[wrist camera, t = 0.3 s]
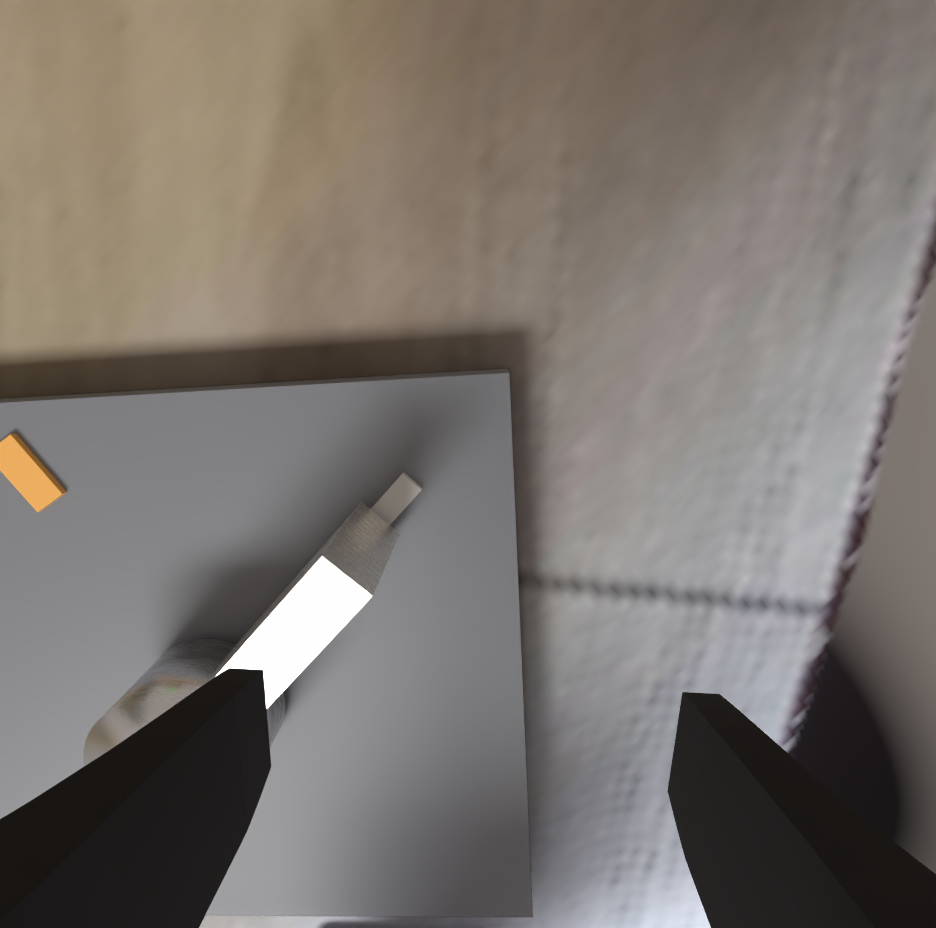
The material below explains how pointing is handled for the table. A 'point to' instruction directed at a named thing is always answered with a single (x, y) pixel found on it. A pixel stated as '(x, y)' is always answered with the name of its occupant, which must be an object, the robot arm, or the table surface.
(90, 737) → the lever handle
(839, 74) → the table surface
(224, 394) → the panel
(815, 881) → the robot arm
